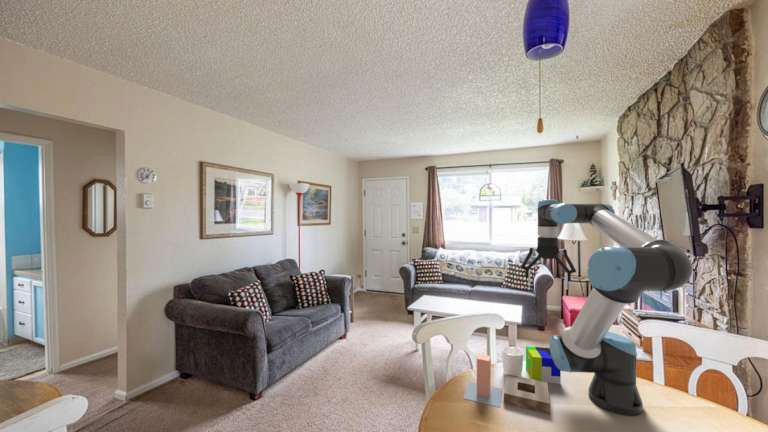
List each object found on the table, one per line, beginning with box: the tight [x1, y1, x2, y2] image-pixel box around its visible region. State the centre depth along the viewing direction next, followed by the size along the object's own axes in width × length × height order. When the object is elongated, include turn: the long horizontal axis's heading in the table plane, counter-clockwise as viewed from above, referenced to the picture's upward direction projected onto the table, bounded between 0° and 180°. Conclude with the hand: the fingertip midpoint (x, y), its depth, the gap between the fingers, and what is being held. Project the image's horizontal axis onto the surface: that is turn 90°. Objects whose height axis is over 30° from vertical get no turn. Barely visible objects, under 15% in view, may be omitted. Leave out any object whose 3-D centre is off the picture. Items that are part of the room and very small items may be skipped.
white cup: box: [501, 346, 524, 377], centre depth 125 cm, size 8×8×10 cm
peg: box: [476, 353, 492, 398], centre depth 111 cm, size 4×4×13 cm
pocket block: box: [503, 374, 551, 415], centre depth 109 cm, size 14×14×4 cm
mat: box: [463, 381, 503, 408], centre depth 111 cm, size 12×12×1 cm
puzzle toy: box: [525, 345, 562, 385], centre depth 124 cm, size 10×10×10 cm
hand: (547, 287), depth 129 cm, fingers open, 13 cm apart
